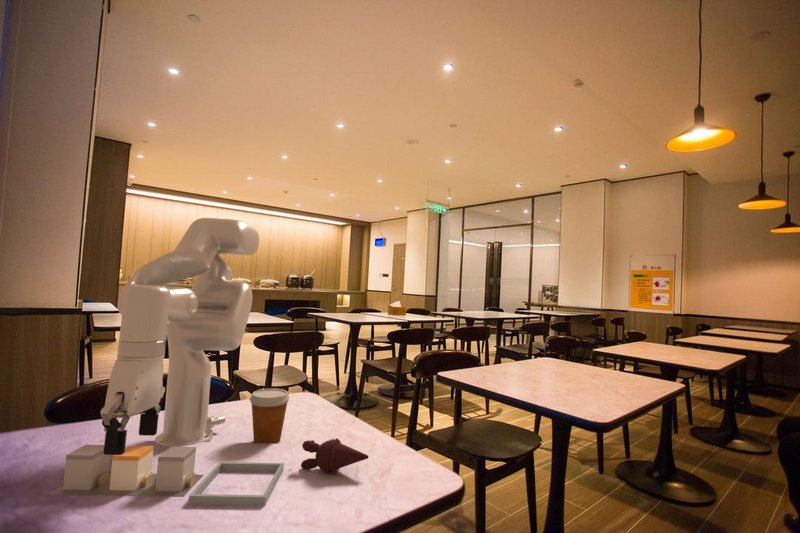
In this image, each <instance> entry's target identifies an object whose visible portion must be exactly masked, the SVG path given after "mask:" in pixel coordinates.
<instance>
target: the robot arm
mask: <svg viewBox="0 0 800 533" xmlns="http://www.w3.org/2000/svg"><path fill="white" fill-rule="evenodd" d="M259 246H260V235H259V233H258V231H257V229H256V228H255V227H254V226H252V225H250V224H248V223H246V222H244V221H242V220H238V219H231V218H230V219H228V218H216V217H215V218H214V217H201V218H198V219H196V220H194V221H192V223H191V224H190V225H189V227H188V228H187V229H186V232H185V233H183V236H182V237H181V239H180V241H179V242H178V243H177V246H175V248H174V250H173V251H170V252H168V253H165V254H163V255H160V256H159V257H157V258H154V259H153V260H151V261H149V262H147V263H145V264H143V265H141V266H140V267H139V268H138V269H136V271H134V272H133V273H132V275H131V276H130V278H129V279H128V281H126V283H125V284H124V286H123V288H122V290H121V292H120V294H119V297H118V300H117V309H118V313H119V314H120V315H121V320H120V330H119V336H118V338H119V339H118V348H117V354H116V355H117V356H116V359H115V361H114V364H113V366H112V370H111V372H110V377H109V382H108V385H107V390H106V396H105V403H104V406H103V407H102V408H101V410H100V417H101V425H102V426H103V431H104V432H105V435H104V444H103V445H104V452H103V453H104V454H105V455H110V456H113V455H122V454H123V453H124V452H125V448H126V445H127V444H126V443H127V433H128V429H126V426H127V424H128V423H129V422H130V421H129V420H130V418H132V417H134V416H137V415H139V414H140V417H139V427H138V435H139V436H148V437H149V436H155V439H154V443H156V444H157V445H159V446H163V447H187V446H191V445H195V444H199V443H208V442H209V441H211V440H212V439H213V436H214V430H212V429H213V428H214V427H215V426H219V425H222V424H223V425H224V423H225V422H226V417H225V416H224V415H220V416H217V417H215V416H214V415H211V416H209V405H210V404H209V403H210V391H211V390H210V389H211V380H212V379H211V376H212V365H211V361H210V359H209V357H208V356H207V354H206V353H205V352H204V351H222V352H224V351H226V352H227V351H234V350H236V349H237V348H238V347H240V346H241V343H242V341H243V337H244V335H245V332H246V327H247V324H248V320H249V317H250V313H251V310H252V306H253V291H252V288H251V286H250V284H248V283H247V282H245V281H244V282H243V281H240V280H231V279H232V275H233V271H232V269H231V266H230V265H229V264H228V262H227V261H226V260H225V259H224V258H223V257H222V256H221V255H232V256H233V255H234V256H252V255H253V256H254V255H255V253H256V252H257V251H258V249H259ZM194 277H196V278H195V280H194V283H193V285H192V287H191V289H190V288H188V287H183V286H173V285H168V284H170V283H174V282H178V281H184V280H188V279H191V278H194ZM167 285H168V286H167ZM166 344H167V346H168V366H167V368H168V370H167V379H166V387H165V386H163V384H164V383H163V381H164V358H165V354H166ZM165 392H166V393H165ZM164 395H165V402H164V403H165V406H164V415H163V416H164V417H163V427H162V428H163V429H162V432H161V433H159V434H158V435H157V433H158V426H159V415H160V414H159V413H160V412H161V405H162V403H163V397H164ZM118 419H121V420H120V421H119V420H118Z"/></svg>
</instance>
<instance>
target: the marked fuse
mask: <svg viewBox="0 0 800 533" xmlns="http://www.w3.org/2000/svg"><path fill="white" fill-rule="evenodd" d="M154 449H155V448H154V445H128V446H125V452H124V453H123V454H122V455H112V459H111V471H110V473H111V479H110V490H132V491H136V490H137V489H138V488H140V487H141V486H142V482H143V477H145V476H146V475H147V474H148V473H152V470H153V458H154Z"/></svg>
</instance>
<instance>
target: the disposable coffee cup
mask: <svg viewBox="0 0 800 533" xmlns="http://www.w3.org/2000/svg"><path fill="white" fill-rule="evenodd" d="M290 398H291V397H290V396H289V392H288V391H287V390H286V389H282V388H281V389H280V388H263V389H257V390H256V391H253V392H252V394H251V397H250V399H249V400H250V403H251V415H252V433H253V434H252V435H253V444H268V445H270V444H273V445H274V444H275V445H278V444H279V443H280V442H281V437H282V432H283V428H284V421H285V417H286V411H287V406H288V402H289V400H290Z"/></svg>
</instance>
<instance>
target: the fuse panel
mask: <svg viewBox="0 0 800 533" xmlns="http://www.w3.org/2000/svg"><path fill="white" fill-rule="evenodd" d="M202 477H204V474H197V473H194V474H192V475H191V476H190V477H189V478H188V479H187V486H186V487H185V488H184V489H183V490H182V491H155V489H156V478H157V473H153V472H151V473H148V474H147V475H146V476H145V477H143V482H142V486H141V487H140V488H138V489H137V490H136V491H132V490H110V479H111V472H109V471H108V472H105V473H103V474H102V475H100V476H99V477H98V479H97V485H96V486H95V487H93V488H92V489H90V490H66V489H63V484H62V485H60V486H59V487H58V488H55V489H54V490H52V491H51V492H49V493H48V494H47V495H49V496H51V495H53V496H105V497H107V496H108V497H109V496H113V497H114V496H116V497H117V496H118V497H119V496H120V497H172V498H173V497H175V498H176V497H181V498H182V497H183V498H184V497H185V496H186V494H188V493H189V491H191V489H193V488H194V486H195V485H196V484H197V483H198V482H199V481H200V480H201V478H202Z"/></svg>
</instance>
